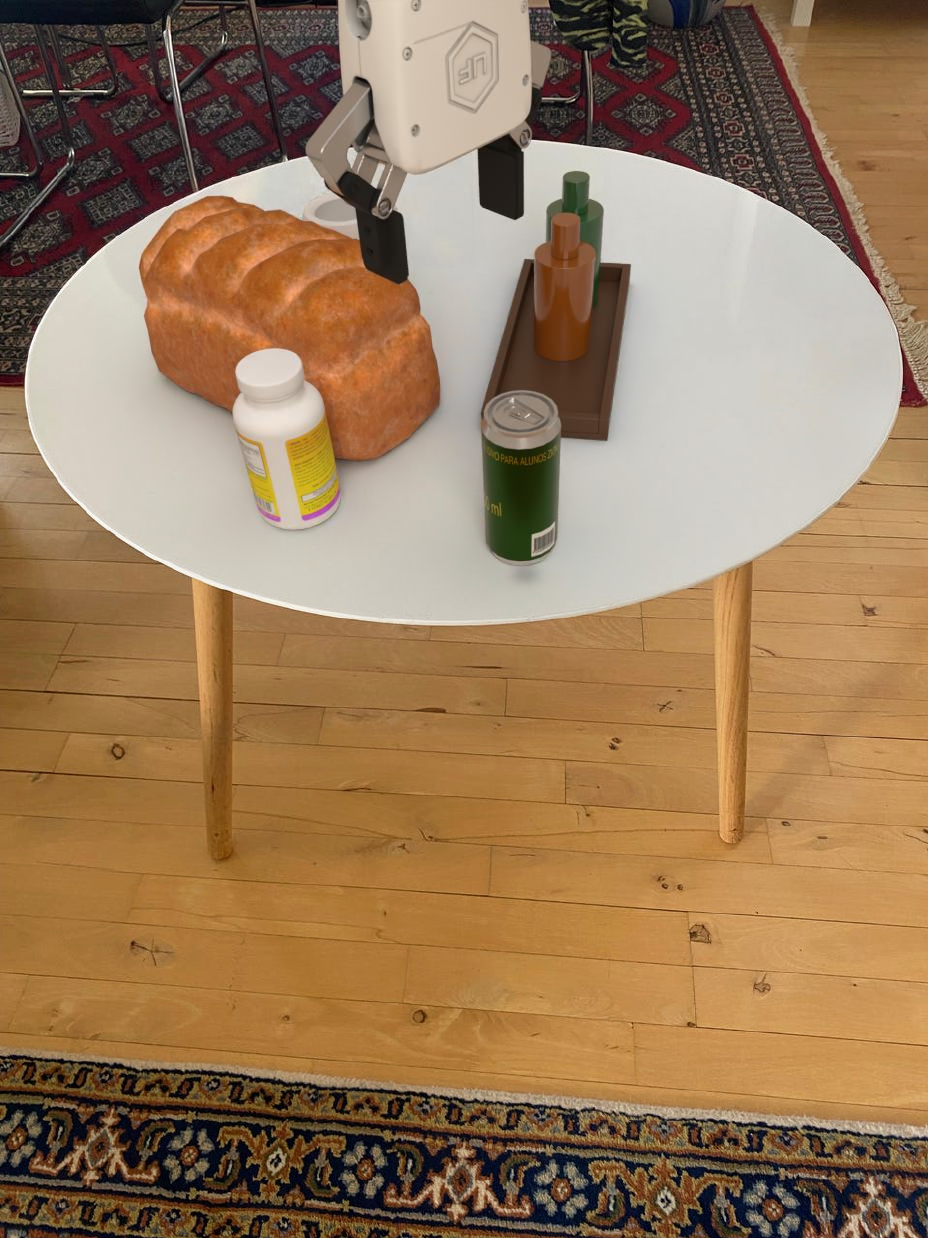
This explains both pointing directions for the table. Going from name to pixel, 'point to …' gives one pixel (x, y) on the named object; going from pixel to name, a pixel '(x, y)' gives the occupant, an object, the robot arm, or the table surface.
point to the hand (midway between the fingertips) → (446, 242)
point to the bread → (289, 318)
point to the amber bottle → (563, 291)
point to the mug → (333, 214)
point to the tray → (572, 383)
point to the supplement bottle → (285, 440)
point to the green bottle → (581, 216)
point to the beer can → (521, 476)
